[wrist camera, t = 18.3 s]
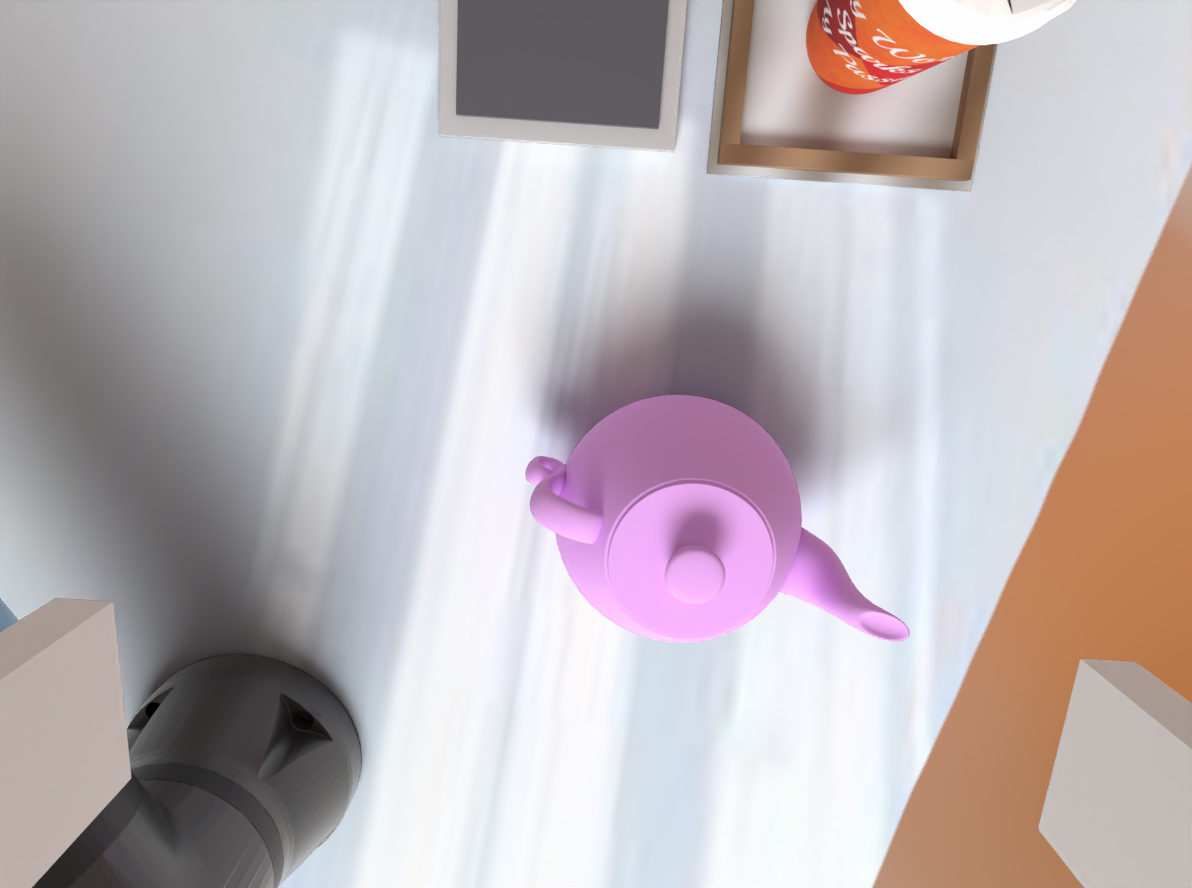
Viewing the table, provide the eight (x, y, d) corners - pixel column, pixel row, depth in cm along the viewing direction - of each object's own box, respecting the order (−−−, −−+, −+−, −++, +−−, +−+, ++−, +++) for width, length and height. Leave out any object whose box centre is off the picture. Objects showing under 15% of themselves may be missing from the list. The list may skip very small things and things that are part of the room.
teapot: (874, 445, 45) (973, 509, 33) (789, 642, 48) (851, 765, 36) (566, 344, 43) (554, 373, 32) (499, 555, 47) (466, 653, 35)
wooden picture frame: (706, 173, 41) (709, 171, 40) (736, -134, 37) (739, -145, 36) (969, 191, 41) (978, 189, 40) (1023, -113, 38) (1034, -123, 37)
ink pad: (441, 136, 41) (437, 132, 39) (445, -133, 37) (440, -146, 36) (673, 152, 41) (675, 149, 40) (695, -114, 38) (698, -127, 36)
